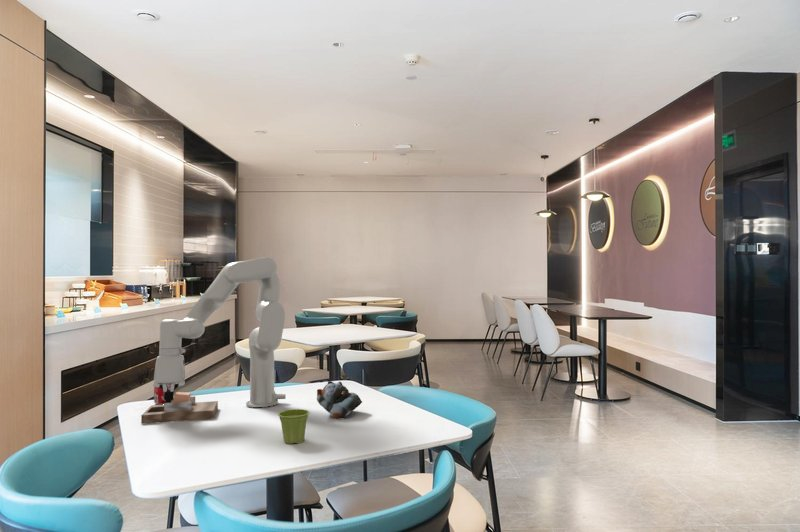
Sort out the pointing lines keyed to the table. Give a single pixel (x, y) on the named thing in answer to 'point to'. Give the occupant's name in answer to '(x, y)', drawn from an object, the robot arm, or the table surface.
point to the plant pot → (293, 425)
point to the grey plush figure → (337, 399)
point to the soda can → (160, 395)
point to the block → (181, 397)
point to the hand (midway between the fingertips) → (168, 401)
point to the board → (180, 411)
